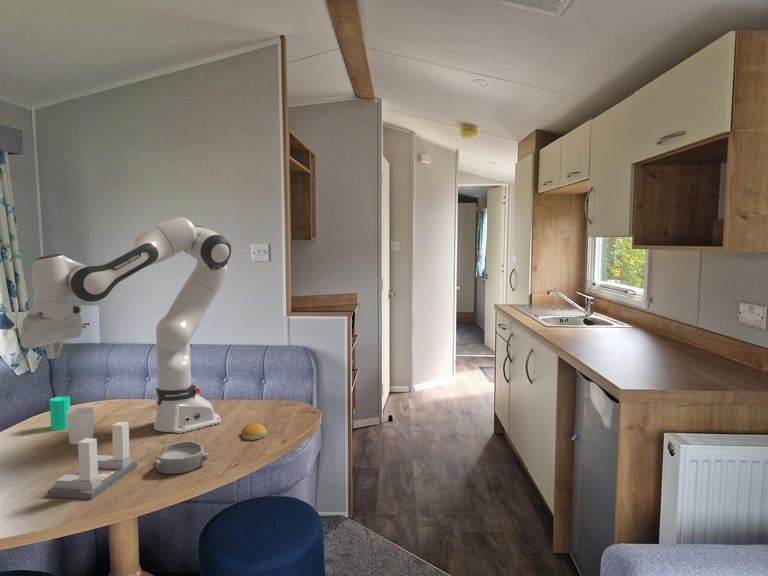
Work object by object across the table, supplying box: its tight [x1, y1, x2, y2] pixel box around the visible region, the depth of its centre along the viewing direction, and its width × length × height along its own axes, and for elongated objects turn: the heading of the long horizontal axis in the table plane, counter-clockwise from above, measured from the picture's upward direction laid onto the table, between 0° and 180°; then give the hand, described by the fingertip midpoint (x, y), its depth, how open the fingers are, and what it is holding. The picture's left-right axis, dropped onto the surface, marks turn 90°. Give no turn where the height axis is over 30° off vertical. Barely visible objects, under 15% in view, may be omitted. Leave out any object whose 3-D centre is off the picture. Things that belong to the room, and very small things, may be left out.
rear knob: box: [111, 421, 131, 460], centre depth 148 cm, size 3×3×10 cm
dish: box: [153, 440, 209, 475], centre depth 153 cm, size 14×14×5 cm
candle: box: [49, 393, 71, 431], centre depth 183 cm, size 6×6×12 cm
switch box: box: [47, 454, 138, 500], centre depth 143 cm, size 12×20×4 cm, turn 174°
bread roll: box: [241, 422, 268, 441], centre depth 177 cm, size 8×9×4 cm
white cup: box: [66, 406, 95, 445], centre depth 171 cm, size 8×8×10 cm
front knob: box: [77, 437, 98, 481], centre depth 136 cm, size 3×3×10 cm
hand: (53, 357), depth 153 cm, fingers closed
